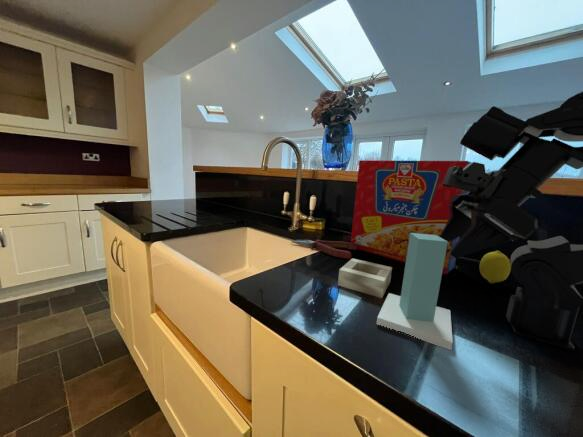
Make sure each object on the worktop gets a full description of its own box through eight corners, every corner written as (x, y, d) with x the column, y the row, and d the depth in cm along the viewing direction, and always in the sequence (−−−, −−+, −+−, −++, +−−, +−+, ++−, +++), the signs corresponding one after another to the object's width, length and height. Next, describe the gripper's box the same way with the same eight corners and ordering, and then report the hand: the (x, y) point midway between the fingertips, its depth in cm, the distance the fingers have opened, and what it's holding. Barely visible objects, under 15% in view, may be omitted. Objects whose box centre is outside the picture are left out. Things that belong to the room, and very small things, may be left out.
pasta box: (350, 246, 81) (359, 160, 76) (362, 243, 87) (371, 162, 82) (446, 274, 62) (467, 160, 57) (454, 267, 67) (474, 163, 62)
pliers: (299, 240, 87) (299, 233, 86) (357, 250, 79) (357, 243, 78) (285, 248, 76) (285, 240, 76) (349, 261, 68) (350, 252, 68)
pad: (448, 316, 42) (450, 310, 42) (451, 350, 34) (452, 342, 33) (387, 298, 47) (388, 292, 47) (376, 324, 39) (377, 317, 38)
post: (423, 308, 42) (436, 235, 40) (433, 322, 38) (447, 241, 36) (399, 305, 42) (410, 232, 40) (406, 318, 39) (418, 238, 36)
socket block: (390, 282, 55) (392, 267, 54) (382, 298, 47) (384, 281, 47) (350, 272, 59) (352, 258, 59) (337, 285, 52) (339, 269, 51)
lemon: (503, 282, 59) (510, 250, 57) (509, 291, 54) (517, 256, 52) (475, 276, 61) (481, 245, 60) (478, 284, 57) (485, 251, 55)
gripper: (457, 153, 48) (401, 214, 53) (501, 134, 31) (413, 228, 36) (509, 187, 46) (446, 248, 51) (588, 188, 29) (481, 280, 33)
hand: (445, 249), depth 43 cm, fingers open, 9 cm apart
